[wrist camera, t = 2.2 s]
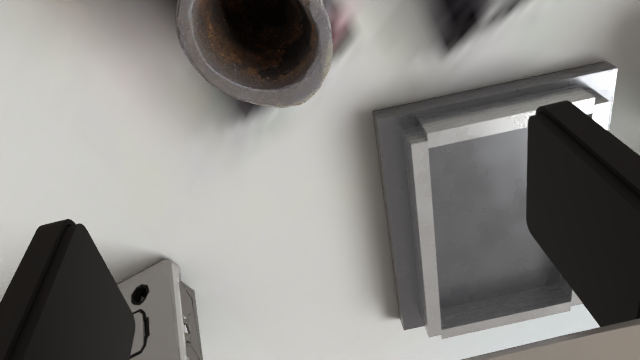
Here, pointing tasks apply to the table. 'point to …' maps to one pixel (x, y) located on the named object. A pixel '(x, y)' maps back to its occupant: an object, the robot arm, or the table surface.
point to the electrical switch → (162, 314)
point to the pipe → (258, 47)
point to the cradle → (474, 202)
